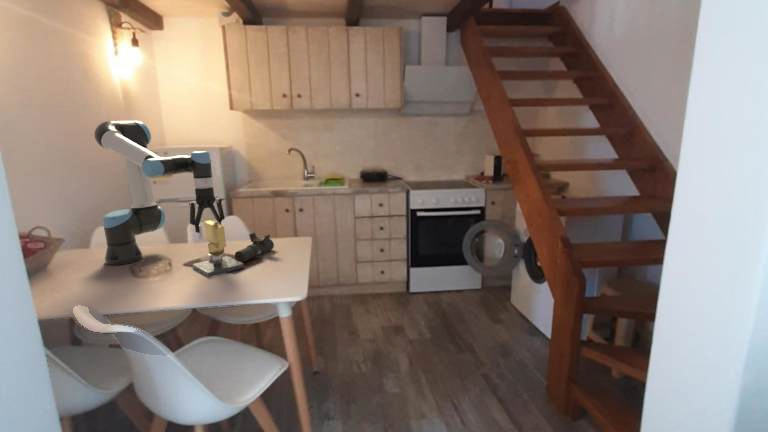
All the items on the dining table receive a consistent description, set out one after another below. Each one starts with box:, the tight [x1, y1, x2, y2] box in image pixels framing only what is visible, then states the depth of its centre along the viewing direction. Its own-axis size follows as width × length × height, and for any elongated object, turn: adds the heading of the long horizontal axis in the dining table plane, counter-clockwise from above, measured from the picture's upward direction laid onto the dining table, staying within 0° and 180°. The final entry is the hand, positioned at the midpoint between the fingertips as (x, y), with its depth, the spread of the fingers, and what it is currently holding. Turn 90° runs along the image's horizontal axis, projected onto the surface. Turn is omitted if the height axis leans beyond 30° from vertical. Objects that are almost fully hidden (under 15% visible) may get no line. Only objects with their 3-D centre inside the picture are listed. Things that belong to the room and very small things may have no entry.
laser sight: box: [234, 232, 275, 263], centre depth 201 cm, size 10×22×10 cm, turn 157°
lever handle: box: [203, 220, 227, 255], centre depth 183 cm, size 6×16×13 cm, turn 42°
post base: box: [192, 253, 245, 278], centre depth 185 cm, size 16×16×7 cm
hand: (209, 237), depth 187 cm, fingers open, 7 cm apart
